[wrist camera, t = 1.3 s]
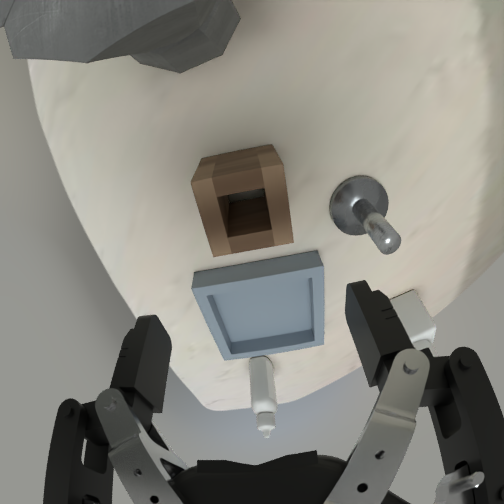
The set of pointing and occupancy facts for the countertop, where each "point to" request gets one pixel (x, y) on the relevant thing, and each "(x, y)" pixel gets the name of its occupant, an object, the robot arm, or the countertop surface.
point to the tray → (264, 305)
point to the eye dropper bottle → (263, 393)
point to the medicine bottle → (416, 322)
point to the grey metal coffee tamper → (364, 212)
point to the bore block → (246, 211)
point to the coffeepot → (120, 30)
